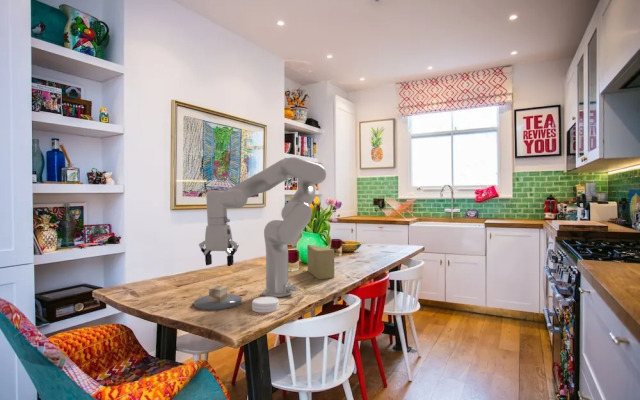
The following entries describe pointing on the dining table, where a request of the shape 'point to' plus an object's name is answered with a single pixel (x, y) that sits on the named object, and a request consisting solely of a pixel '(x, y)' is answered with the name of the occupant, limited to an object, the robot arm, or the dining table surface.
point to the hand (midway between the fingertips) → (219, 265)
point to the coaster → (265, 304)
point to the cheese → (320, 262)
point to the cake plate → (217, 303)
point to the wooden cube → (217, 293)
